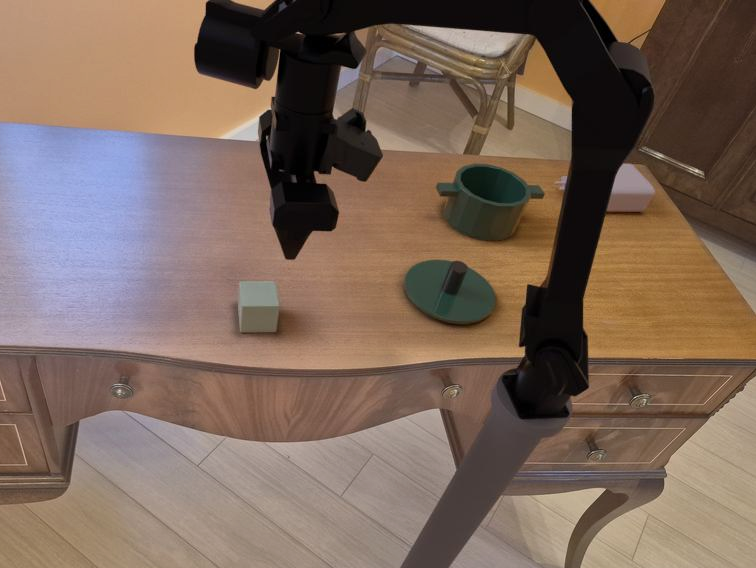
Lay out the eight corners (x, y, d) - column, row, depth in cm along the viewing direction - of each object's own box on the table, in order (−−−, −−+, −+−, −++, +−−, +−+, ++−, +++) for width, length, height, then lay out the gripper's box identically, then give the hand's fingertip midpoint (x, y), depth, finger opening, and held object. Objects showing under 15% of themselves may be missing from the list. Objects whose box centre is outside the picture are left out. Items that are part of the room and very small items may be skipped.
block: (276, 332, 76) (279, 306, 73) (240, 332, 76) (242, 306, 72) (272, 307, 79) (275, 281, 76) (237, 307, 79) (239, 280, 75)
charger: (540, 183, 108) (615, 184, 111) (563, 214, 102) (642, 214, 105) (551, 159, 105) (628, 160, 108) (575, 189, 99) (657, 190, 102)
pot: (541, 241, 96) (559, 207, 92) (439, 240, 93) (452, 204, 89) (514, 199, 104) (529, 165, 99) (419, 196, 101) (430, 161, 96)
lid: (506, 326, 82) (520, 298, 78) (416, 327, 80) (427, 299, 76) (475, 265, 90) (487, 237, 86) (393, 265, 88) (402, 236, 84)
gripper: (409, 156, 54) (370, 289, 65) (367, 63, 66) (340, 189, 77) (283, 150, 52) (265, 287, 63) (264, 55, 64) (252, 185, 75)
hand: (285, 232), depth 70 cm, fingers open, 9 cm apart
